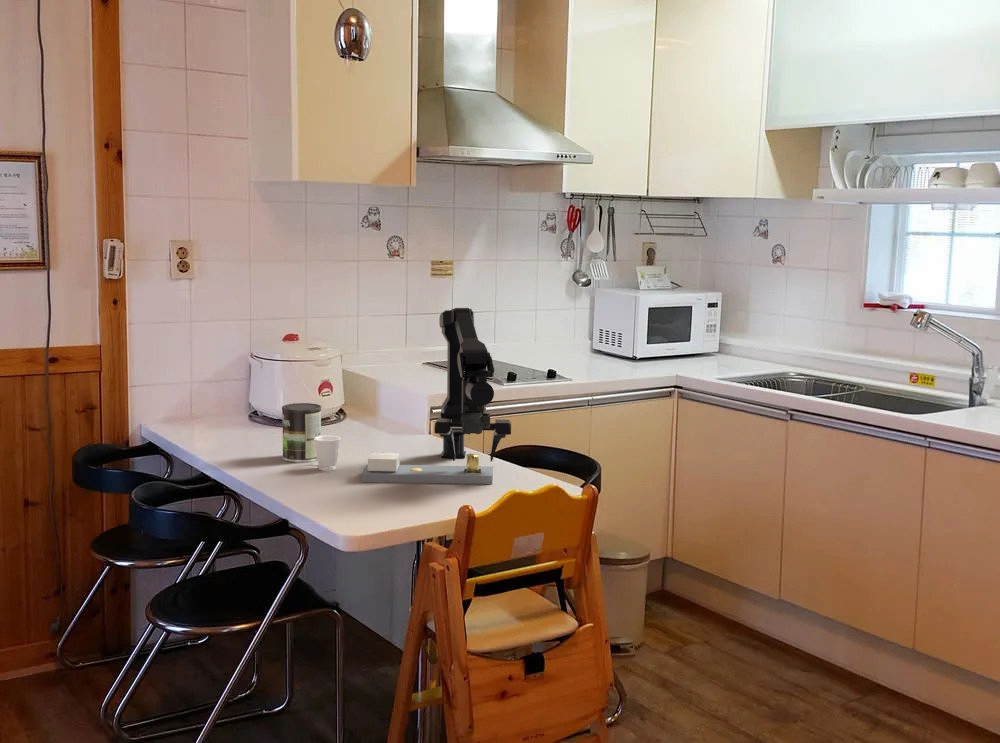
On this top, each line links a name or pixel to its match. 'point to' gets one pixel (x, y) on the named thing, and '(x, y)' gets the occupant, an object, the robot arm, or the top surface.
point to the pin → (472, 463)
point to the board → (430, 475)
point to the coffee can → (300, 431)
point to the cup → (327, 451)
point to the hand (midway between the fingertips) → (472, 460)
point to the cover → (383, 462)
